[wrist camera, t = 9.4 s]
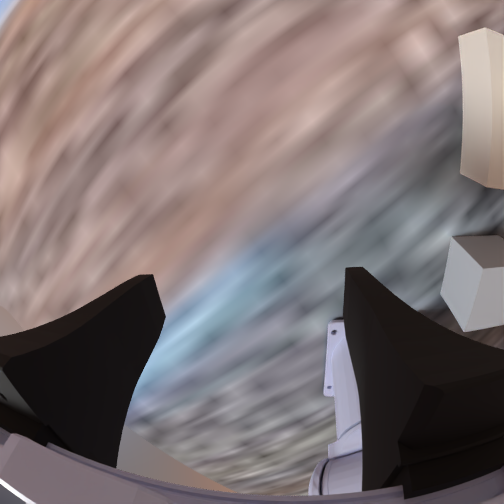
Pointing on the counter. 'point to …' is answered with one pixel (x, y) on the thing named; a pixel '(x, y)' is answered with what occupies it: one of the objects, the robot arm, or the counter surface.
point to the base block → (483, 107)
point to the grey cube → (475, 281)
